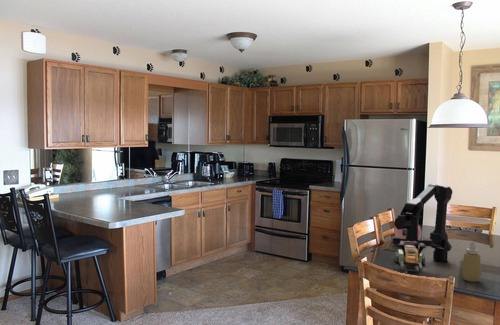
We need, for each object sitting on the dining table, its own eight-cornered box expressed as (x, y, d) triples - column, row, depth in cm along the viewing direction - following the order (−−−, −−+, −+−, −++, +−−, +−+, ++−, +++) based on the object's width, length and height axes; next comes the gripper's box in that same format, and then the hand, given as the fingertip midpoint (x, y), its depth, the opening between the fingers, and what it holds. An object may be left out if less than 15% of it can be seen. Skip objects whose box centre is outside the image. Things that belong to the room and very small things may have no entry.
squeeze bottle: (474, 277, 198) (476, 239, 197) (484, 283, 190) (486, 243, 189) (457, 277, 198) (459, 239, 197) (467, 283, 190) (468, 243, 189)
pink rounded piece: (391, 247, 251) (392, 222, 250) (396, 240, 269) (396, 216, 268) (419, 251, 244) (420, 224, 243) (422, 243, 262) (423, 218, 261)
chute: (416, 258, 216) (416, 248, 216) (417, 263, 207) (418, 253, 207) (404, 257, 218) (405, 247, 217) (405, 262, 209) (406, 252, 209)
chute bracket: (420, 265, 216) (420, 261, 216) (422, 271, 206) (422, 267, 206) (400, 263, 219) (400, 259, 219) (401, 269, 208) (401, 265, 208)
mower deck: (423, 260, 225) (423, 245, 224) (424, 265, 216) (425, 250, 215) (394, 258, 229) (395, 243, 228) (395, 263, 220) (395, 247, 219)
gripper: (430, 225, 217) (429, 255, 218) (391, 223, 222) (391, 252, 223) (433, 229, 206) (432, 261, 207) (392, 227, 211) (391, 258, 212)
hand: (411, 258), depth 213 cm, fingers closed on chute, 6 cm apart
